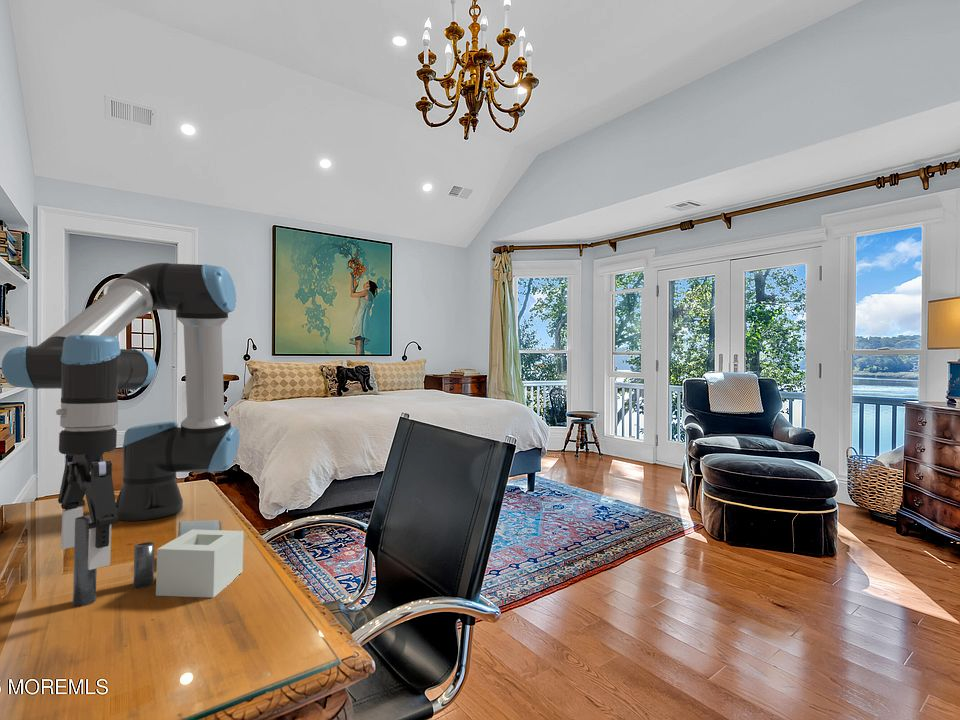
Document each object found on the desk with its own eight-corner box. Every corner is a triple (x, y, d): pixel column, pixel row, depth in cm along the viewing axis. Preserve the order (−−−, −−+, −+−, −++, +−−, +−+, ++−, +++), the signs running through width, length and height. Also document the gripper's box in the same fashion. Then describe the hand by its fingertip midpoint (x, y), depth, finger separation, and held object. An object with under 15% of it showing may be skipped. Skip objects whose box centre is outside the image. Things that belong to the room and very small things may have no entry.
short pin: (141, 580, 91) (142, 542, 91) (157, 580, 91) (158, 542, 91) (129, 587, 88) (130, 548, 88) (145, 588, 88) (146, 548, 88)
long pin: (83, 597, 84) (85, 514, 84) (100, 598, 84) (102, 515, 84) (67, 606, 81) (70, 520, 81) (85, 606, 81) (88, 521, 81)
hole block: (191, 571, 95) (192, 529, 95) (242, 572, 95) (243, 531, 95) (155, 595, 85) (157, 549, 85) (213, 597, 85) (214, 550, 85)
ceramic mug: (223, 559, 101) (224, 521, 101) (176, 567, 97) (177, 527, 97) (219, 543, 110) (220, 508, 110) (175, 550, 106) (177, 514, 106)
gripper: (38, 423, 87) (34, 545, 87) (86, 437, 72) (81, 584, 72) (90, 420, 93) (87, 534, 93) (145, 433, 78) (140, 568, 78)
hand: (84, 556), depth 82 cm, fingers open, 13 cm apart
